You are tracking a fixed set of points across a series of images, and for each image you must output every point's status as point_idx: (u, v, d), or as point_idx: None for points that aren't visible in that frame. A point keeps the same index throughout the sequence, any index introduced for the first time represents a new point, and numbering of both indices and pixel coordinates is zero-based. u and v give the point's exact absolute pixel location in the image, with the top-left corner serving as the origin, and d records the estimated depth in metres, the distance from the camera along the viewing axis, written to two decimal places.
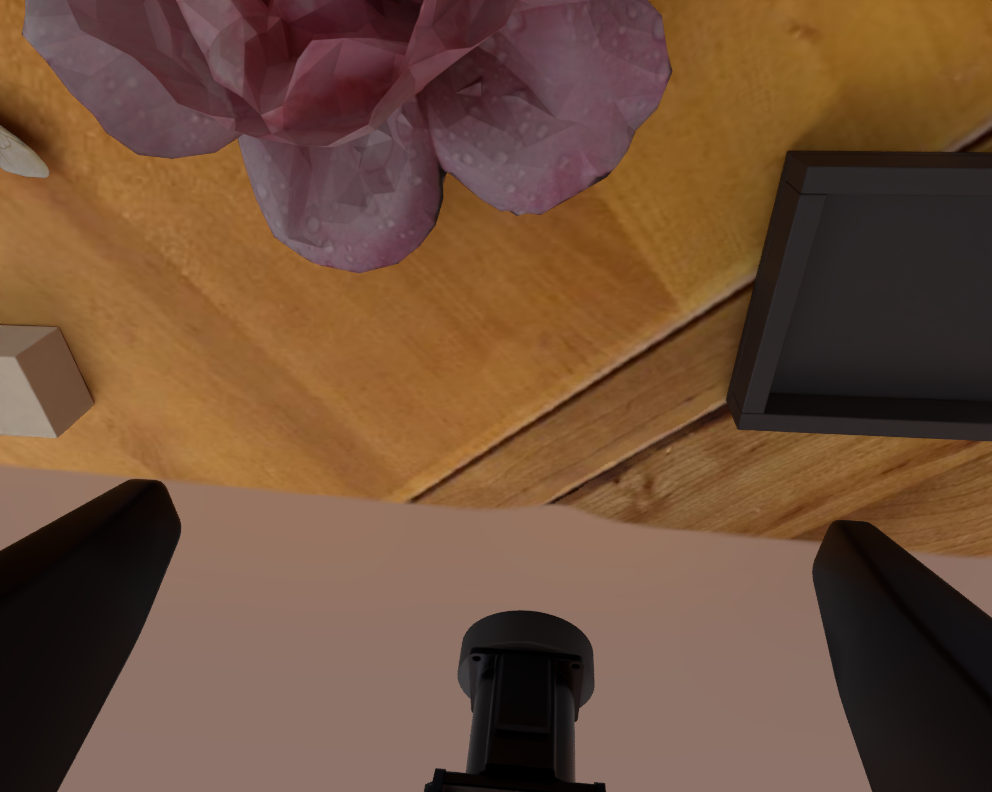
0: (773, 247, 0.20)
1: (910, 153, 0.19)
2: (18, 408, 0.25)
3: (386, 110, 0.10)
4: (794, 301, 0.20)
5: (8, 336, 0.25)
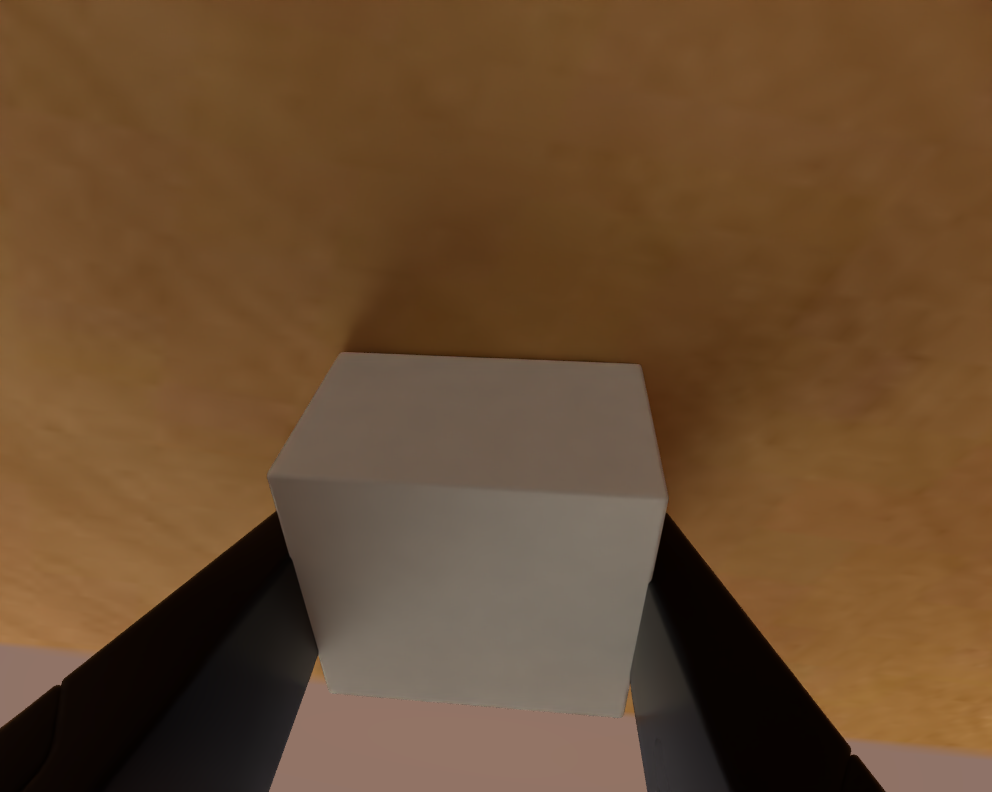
0: None
1: None
2: (544, 647, 0.07)
3: None
4: None
5: (522, 400, 0.07)
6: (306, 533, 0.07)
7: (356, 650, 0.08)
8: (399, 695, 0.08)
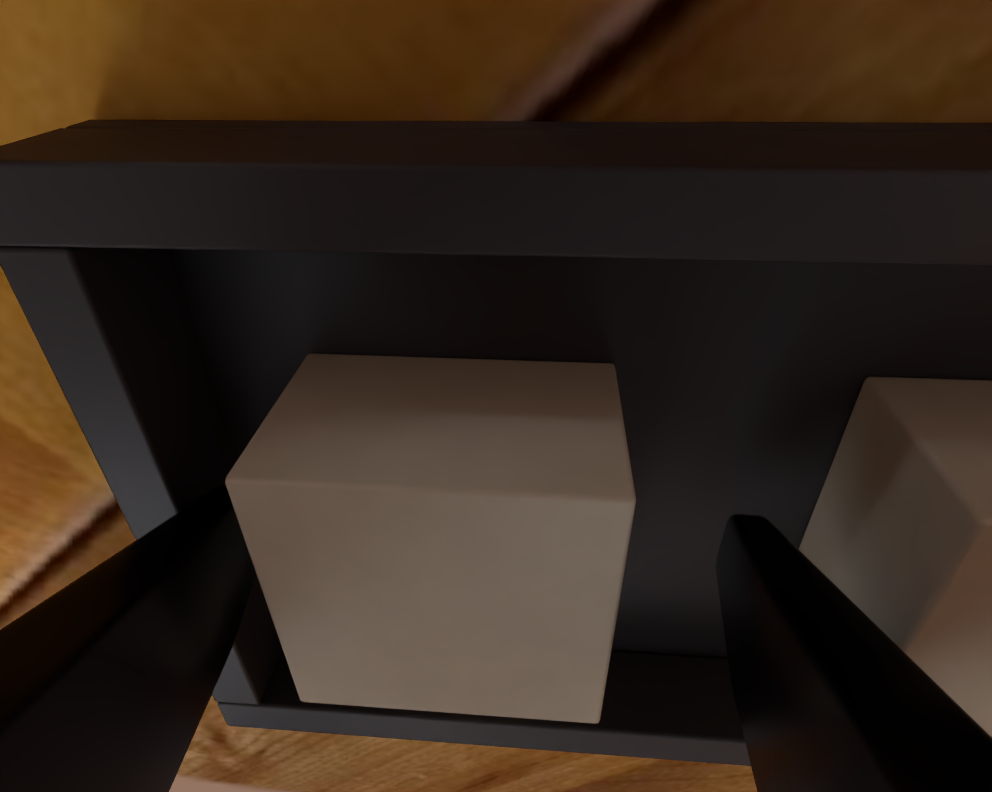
0: None
1: (390, 125, 0.07)
2: (516, 652, 0.07)
3: None
4: (173, 511, 0.08)
5: (492, 400, 0.07)
6: (268, 539, 0.06)
7: (325, 658, 0.08)
8: (371, 703, 0.08)
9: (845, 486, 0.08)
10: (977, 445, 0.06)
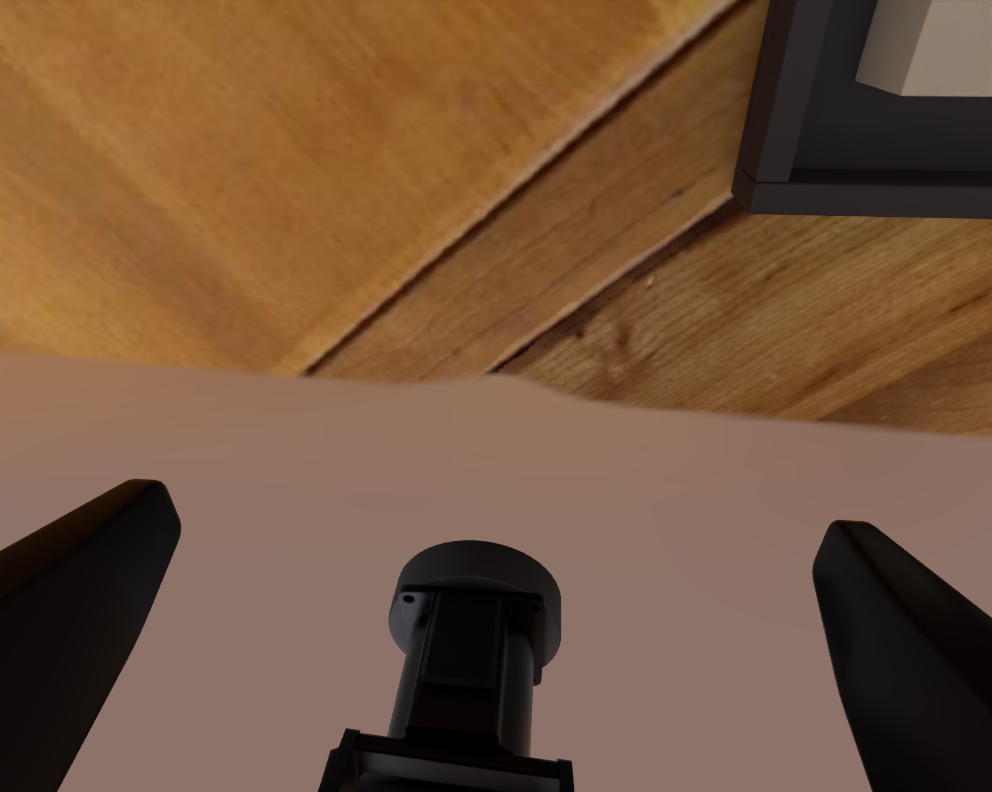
0: None
1: None
2: None
3: None
4: None
5: None
6: None
7: (948, 35, 0.12)
8: (953, 88, 0.13)
9: None
10: None
